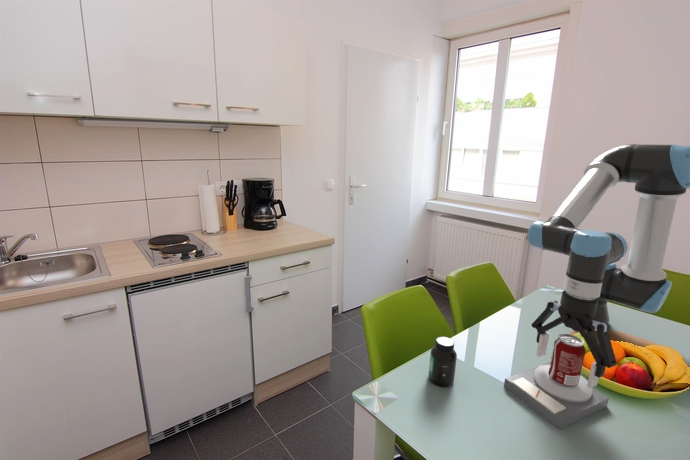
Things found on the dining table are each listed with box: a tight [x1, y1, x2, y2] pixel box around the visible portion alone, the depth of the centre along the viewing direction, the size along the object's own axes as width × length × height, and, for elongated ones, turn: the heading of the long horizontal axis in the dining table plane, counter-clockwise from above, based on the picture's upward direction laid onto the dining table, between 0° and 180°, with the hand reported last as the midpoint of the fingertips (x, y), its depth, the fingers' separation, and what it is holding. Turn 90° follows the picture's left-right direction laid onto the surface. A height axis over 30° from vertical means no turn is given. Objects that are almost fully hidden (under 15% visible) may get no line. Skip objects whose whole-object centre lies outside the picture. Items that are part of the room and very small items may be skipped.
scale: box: [503, 361, 610, 430], centre depth 92 cm, size 18×16×4 cm
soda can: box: [548, 333, 586, 387], centre depth 91 cm, size 7×7×12 cm
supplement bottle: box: [428, 336, 458, 388], centre depth 96 cm, size 7×7×12 cm
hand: (564, 369), depth 92 cm, fingers open, 13 cm apart
